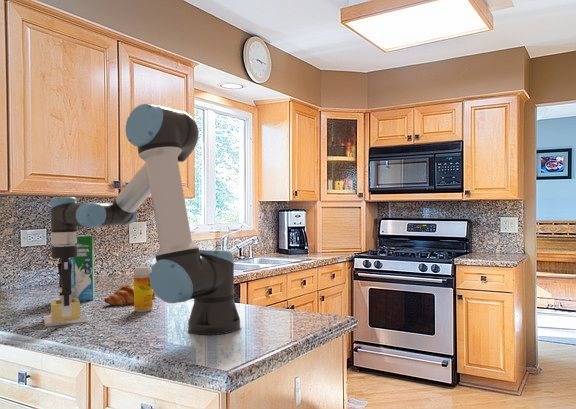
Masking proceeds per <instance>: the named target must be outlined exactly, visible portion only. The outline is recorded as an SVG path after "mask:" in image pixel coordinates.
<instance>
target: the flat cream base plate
mask: <svg viewBox="0 0 576 409" xmlns="http://www.w3.org/2000/svg"><path fill="white" fill-rule="evenodd" d="M81 323H82V324H83V323H88V317H87V315H86V313H85V311H80V318H77V319H68V320H59V321H52V318H51V314H48V315H43V324H44V328H46V327H55V326H64V325H65V326H66V325H72V324H73V325H74V324H81Z"/></svg>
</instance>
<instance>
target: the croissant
mask: <svg viewBox="0 0 576 409" xmlns="http://www.w3.org/2000/svg"><path fill="white" fill-rule="evenodd" d="M156 297H157V296H156V294H155V293H154V291H153V290H152V299H154V298H156ZM103 301H104V303H105V304H108V305H112V306H123V305H126V306H127V305H128V306H129V305H134V285H131V284H129V285H128V284H126V285H123V286H121V287H120V288H119V289H118V290H116V291H114V293H113V294H110V295H109V296H107V297H105V298H104V300H103Z"/></svg>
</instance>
